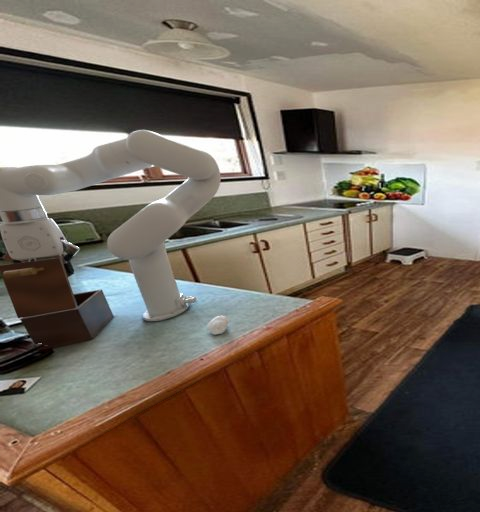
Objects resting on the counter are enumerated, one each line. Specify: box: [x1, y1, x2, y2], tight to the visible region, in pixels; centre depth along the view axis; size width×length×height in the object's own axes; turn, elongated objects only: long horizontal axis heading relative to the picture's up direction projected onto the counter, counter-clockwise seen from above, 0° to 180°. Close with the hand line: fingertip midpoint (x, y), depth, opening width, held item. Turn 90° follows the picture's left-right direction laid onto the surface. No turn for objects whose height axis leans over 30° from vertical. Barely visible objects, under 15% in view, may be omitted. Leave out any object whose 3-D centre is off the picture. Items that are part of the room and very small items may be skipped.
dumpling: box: [206, 315, 229, 336], centre depth 81 cm, size 7×5×4 cm
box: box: [19, 289, 115, 352], centre depth 82 cm, size 14×12×10 cm
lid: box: [0, 257, 78, 319], centre depth 71 cm, size 14×12×5 cm
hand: (55, 277), depth 78 cm, fingers closed on lemon, 5 cm apart
